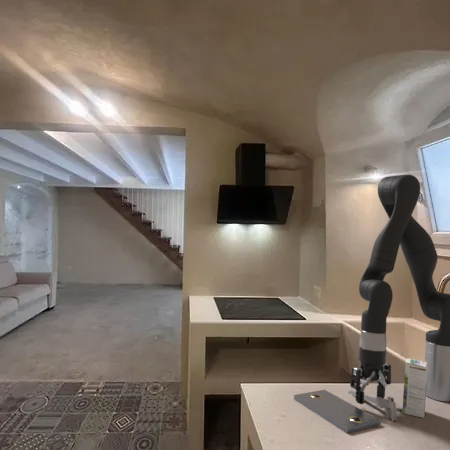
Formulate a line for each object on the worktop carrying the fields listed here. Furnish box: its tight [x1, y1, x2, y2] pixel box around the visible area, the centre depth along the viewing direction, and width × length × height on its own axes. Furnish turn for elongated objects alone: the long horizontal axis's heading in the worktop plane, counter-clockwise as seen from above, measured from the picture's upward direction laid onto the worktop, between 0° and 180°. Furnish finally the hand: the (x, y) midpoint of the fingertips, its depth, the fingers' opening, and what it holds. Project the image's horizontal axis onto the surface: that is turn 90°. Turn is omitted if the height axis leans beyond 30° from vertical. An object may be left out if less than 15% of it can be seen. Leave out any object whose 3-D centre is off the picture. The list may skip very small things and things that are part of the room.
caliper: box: [347, 389, 398, 422], centre depth 117 cm, size 20×1×6 cm, turn 18°
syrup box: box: [402, 358, 428, 419], centre depth 114 cm, size 6×6×14 cm
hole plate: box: [293, 389, 382, 434], centre depth 112 cm, size 12×22×1 cm, turn 27°
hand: (370, 401), depth 117 cm, fingers open, 8 cm apart
